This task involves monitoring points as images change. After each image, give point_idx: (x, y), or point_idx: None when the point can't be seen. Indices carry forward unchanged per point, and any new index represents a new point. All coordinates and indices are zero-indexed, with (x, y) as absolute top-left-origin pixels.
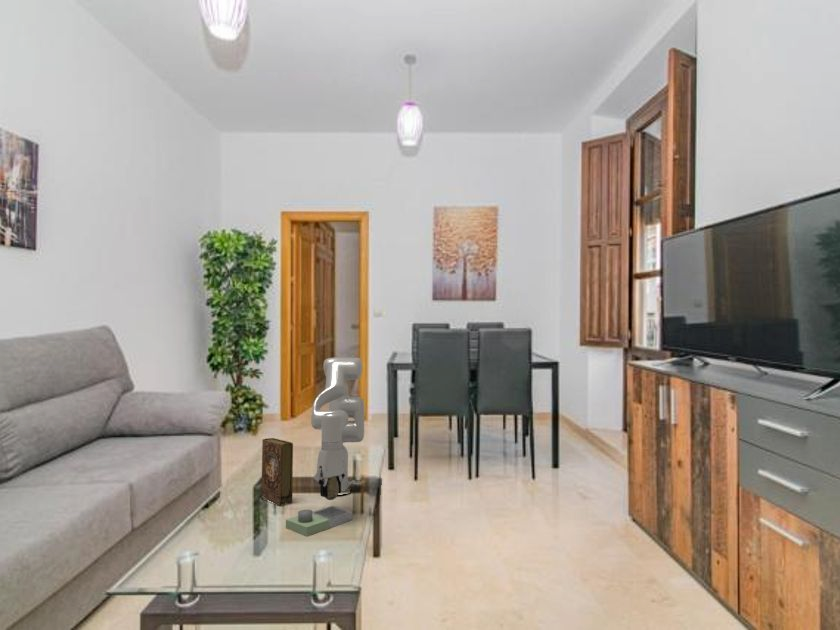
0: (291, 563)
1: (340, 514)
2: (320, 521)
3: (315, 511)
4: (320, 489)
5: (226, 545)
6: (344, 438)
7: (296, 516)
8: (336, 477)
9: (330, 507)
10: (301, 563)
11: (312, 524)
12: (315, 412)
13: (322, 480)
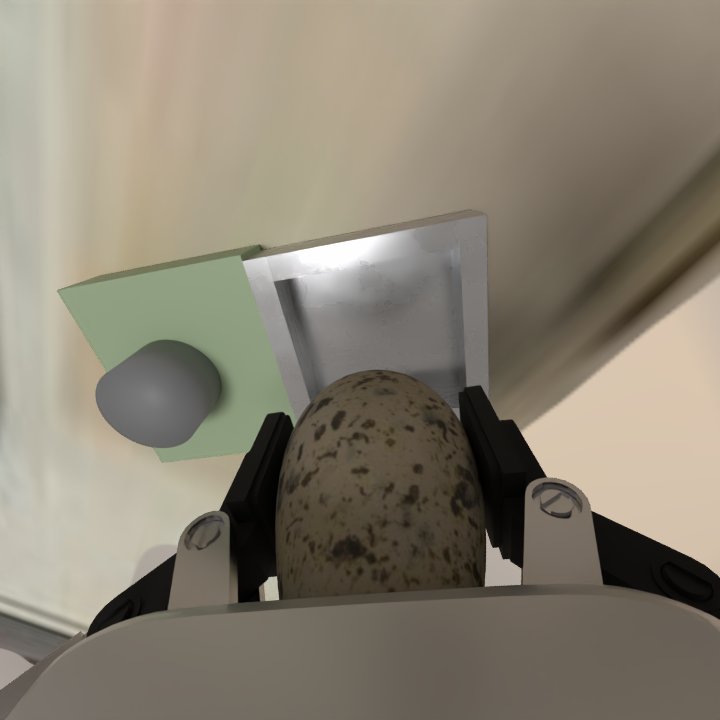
0: (93, 563)
1: None
2: (253, 440)
3: (298, 265)
4: (231, 486)
5: None
6: None
7: (137, 279)
8: (545, 559)
9: (443, 250)
10: (122, 575)
11: (200, 449)
12: None
13: (218, 591)
